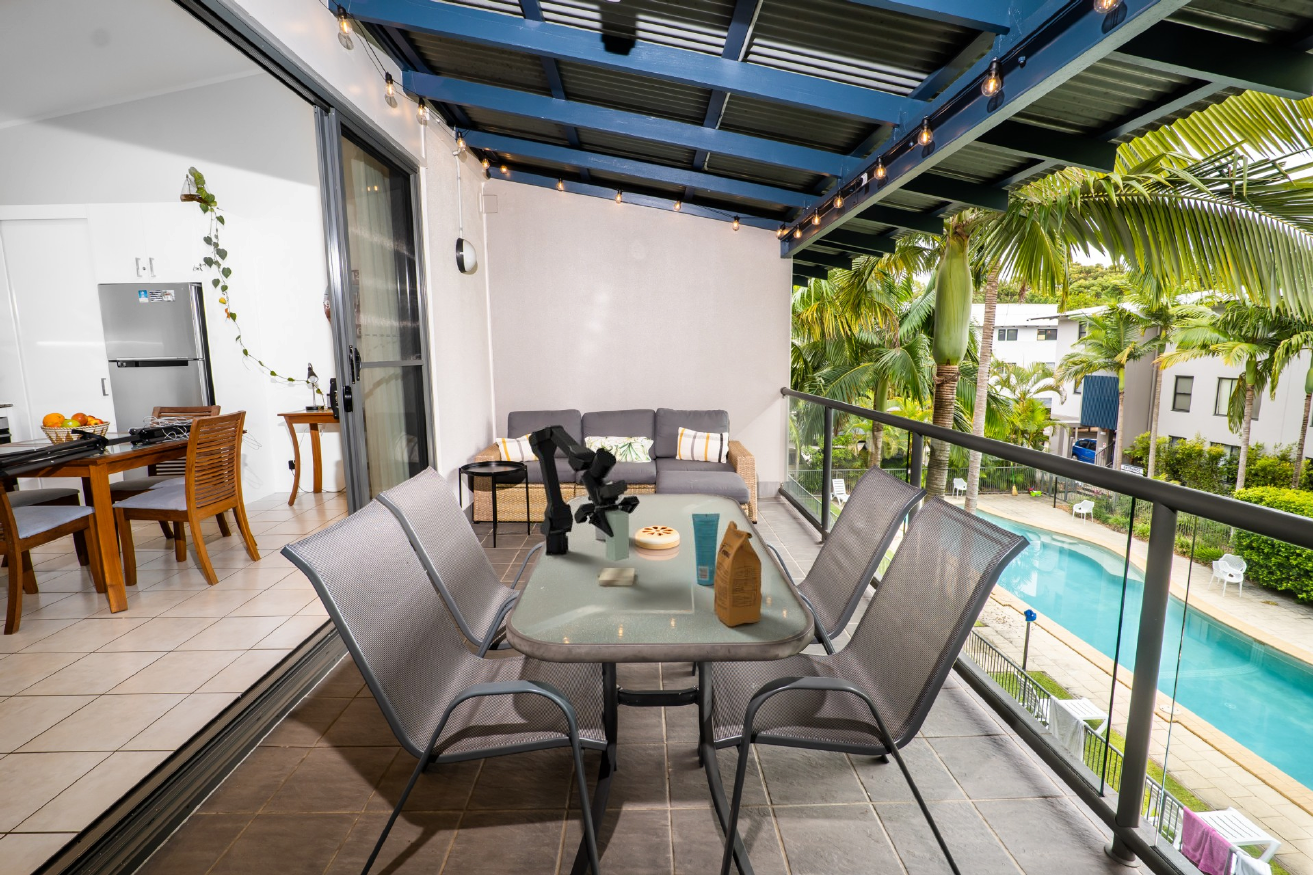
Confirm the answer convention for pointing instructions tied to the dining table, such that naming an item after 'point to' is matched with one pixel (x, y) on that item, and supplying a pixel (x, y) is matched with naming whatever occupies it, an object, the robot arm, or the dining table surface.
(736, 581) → the coffee package
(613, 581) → the slab top
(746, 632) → the dining table surface
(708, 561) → the tube
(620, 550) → the post
